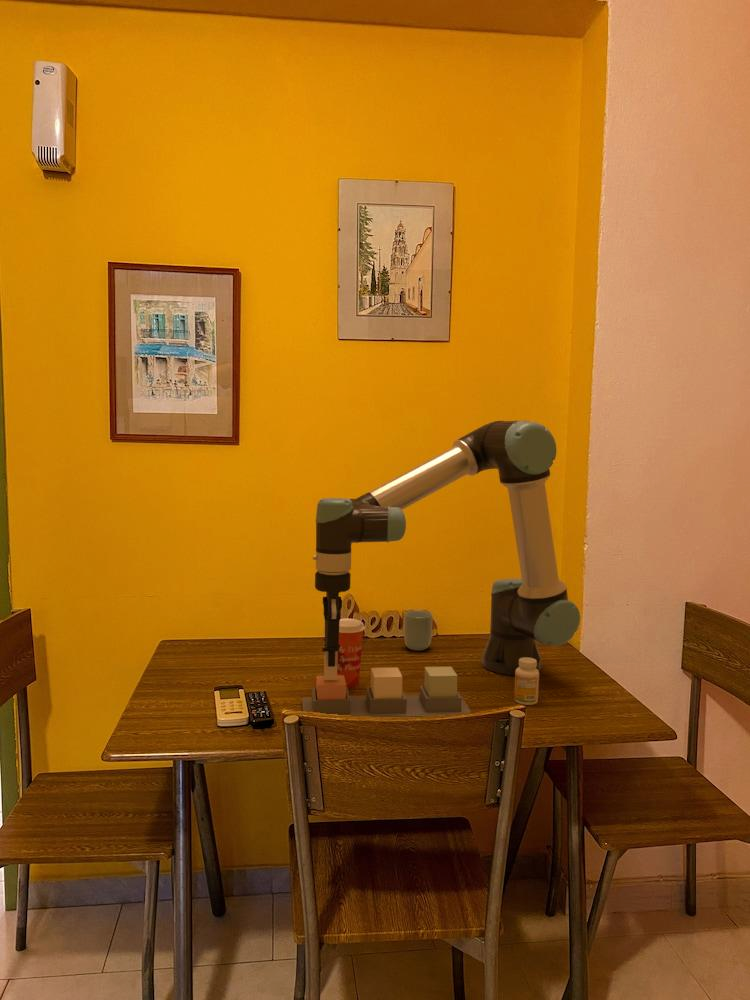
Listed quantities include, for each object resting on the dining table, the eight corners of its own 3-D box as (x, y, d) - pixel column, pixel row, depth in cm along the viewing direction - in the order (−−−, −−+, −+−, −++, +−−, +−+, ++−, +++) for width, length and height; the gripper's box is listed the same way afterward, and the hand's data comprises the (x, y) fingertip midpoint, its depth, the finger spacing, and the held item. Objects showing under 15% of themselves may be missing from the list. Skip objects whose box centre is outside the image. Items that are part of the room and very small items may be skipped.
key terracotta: (343, 697, 164) (343, 675, 163) (345, 707, 158) (346, 684, 158) (316, 697, 163) (316, 675, 163) (317, 708, 157) (317, 685, 157)
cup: (400, 651, 205) (401, 615, 204) (407, 643, 212) (408, 609, 211) (428, 654, 203) (429, 618, 202) (434, 646, 210) (435, 611, 209)
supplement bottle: (521, 694, 174) (522, 654, 173) (542, 700, 171) (544, 659, 170) (509, 701, 170) (511, 660, 169) (531, 707, 167) (533, 665, 166)
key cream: (397, 689, 165) (398, 667, 165) (401, 699, 159) (402, 676, 159) (370, 689, 165) (371, 667, 164) (373, 700, 159) (374, 677, 158)
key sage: (450, 688, 167) (451, 666, 166) (456, 698, 161) (457, 675, 160) (424, 688, 166) (424, 666, 166) (429, 698, 160) (429, 676, 160)
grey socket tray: (459, 699, 170) (460, 681, 170) (472, 720, 159) (473, 701, 158) (302, 702, 166) (302, 684, 166) (303, 724, 154) (303, 705, 154)
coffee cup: (333, 690, 174) (334, 627, 173) (326, 678, 182) (327, 618, 181) (367, 687, 176) (369, 626, 175) (359, 676, 184) (360, 616, 183)
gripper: (313, 565, 164) (311, 669, 166) (316, 577, 151) (314, 690, 153) (348, 565, 164) (345, 668, 167) (353, 577, 152) (350, 689, 154)
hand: (330, 679), depth 160 cm, fingers closed
